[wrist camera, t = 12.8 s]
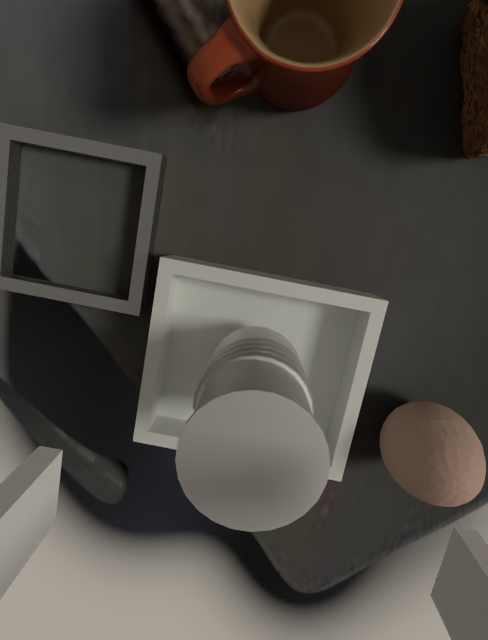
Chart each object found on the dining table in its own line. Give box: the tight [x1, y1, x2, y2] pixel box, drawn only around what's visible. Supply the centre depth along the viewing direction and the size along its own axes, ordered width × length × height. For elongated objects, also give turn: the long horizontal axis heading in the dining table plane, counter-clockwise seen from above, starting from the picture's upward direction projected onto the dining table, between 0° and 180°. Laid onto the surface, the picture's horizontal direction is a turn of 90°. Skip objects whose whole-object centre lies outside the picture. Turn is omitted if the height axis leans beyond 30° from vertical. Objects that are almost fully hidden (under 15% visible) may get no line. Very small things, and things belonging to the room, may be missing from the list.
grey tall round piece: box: [175, 326, 330, 532], centre depth 25 cm, size 7×7×15 cm
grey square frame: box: [0, 123, 167, 316], centre depth 31 cm, size 12×12×2 cm
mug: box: [187, 0, 403, 111], centre depth 25 cm, size 12×9×10 cm
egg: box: [380, 401, 486, 507], centre depth 30 cm, size 7×7×9 cm
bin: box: [133, 255, 388, 481], centre depth 32 cm, size 14×16×4 cm
